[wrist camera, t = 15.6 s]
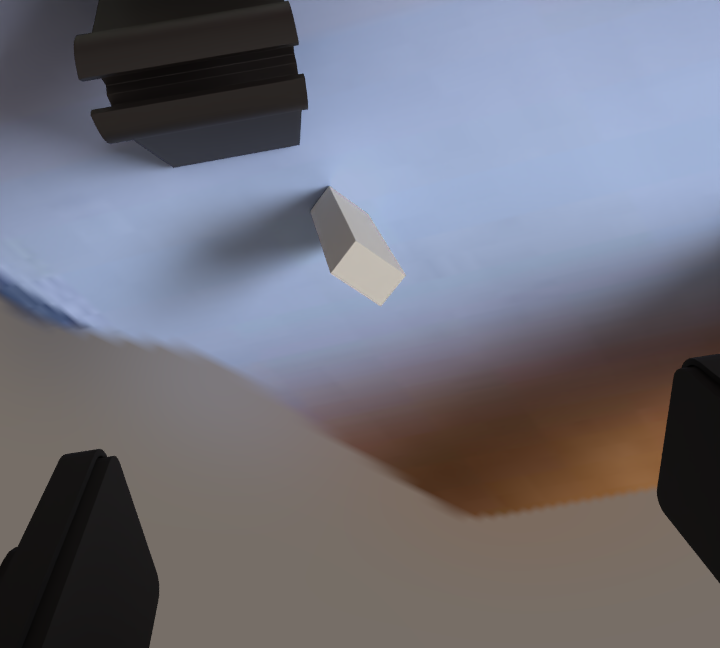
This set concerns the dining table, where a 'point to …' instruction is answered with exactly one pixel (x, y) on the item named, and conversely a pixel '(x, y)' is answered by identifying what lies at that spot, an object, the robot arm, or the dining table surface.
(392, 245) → the dining table surface
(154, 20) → the phone stand
